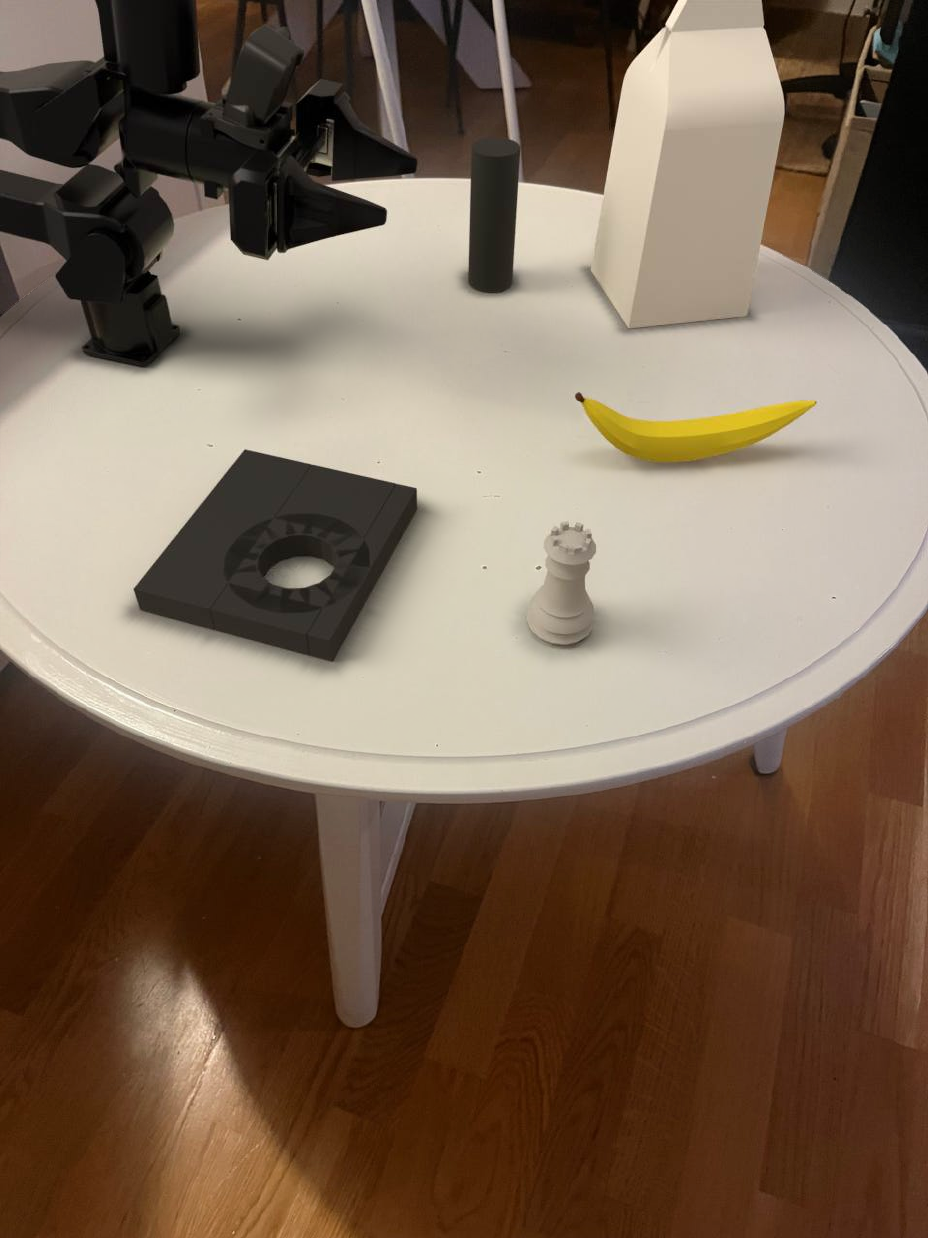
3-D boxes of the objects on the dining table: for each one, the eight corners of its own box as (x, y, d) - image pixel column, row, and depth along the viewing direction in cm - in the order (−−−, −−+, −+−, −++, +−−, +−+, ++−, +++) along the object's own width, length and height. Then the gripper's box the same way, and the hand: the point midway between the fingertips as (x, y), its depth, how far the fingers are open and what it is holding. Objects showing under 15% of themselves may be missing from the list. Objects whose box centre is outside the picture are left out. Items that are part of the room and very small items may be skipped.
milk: (628, 328, 91) (678, 13, 72) (590, 270, 99) (627, -29, 80) (746, 316, 93) (825, 6, 74) (700, 259, 101) (761, -35, 82)
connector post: (462, 288, 96) (465, 151, 86) (475, 267, 99) (480, 133, 89) (505, 295, 95) (512, 158, 86) (517, 275, 98) (526, 140, 89)
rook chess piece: (522, 601, 67) (530, 512, 61) (586, 598, 67) (601, 509, 61) (530, 650, 64) (540, 561, 58) (598, 647, 64) (614, 558, 58)
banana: (805, 464, 78) (828, 396, 73) (570, 473, 76) (579, 405, 72) (793, 442, 80) (815, 374, 75) (564, 451, 78) (572, 383, 74)
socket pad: (139, 610, 65) (132, 588, 64) (248, 469, 76) (244, 448, 74) (332, 661, 63) (330, 641, 61) (417, 508, 73) (417, 487, 72)
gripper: (136, 68, 61) (376, 124, 60) (243, -14, 74) (443, 32, 73) (153, 237, 69) (365, 287, 69) (247, 137, 82) (427, 180, 81)
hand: (402, 189), depth 73 cm, fingers open, 9 cm apart
